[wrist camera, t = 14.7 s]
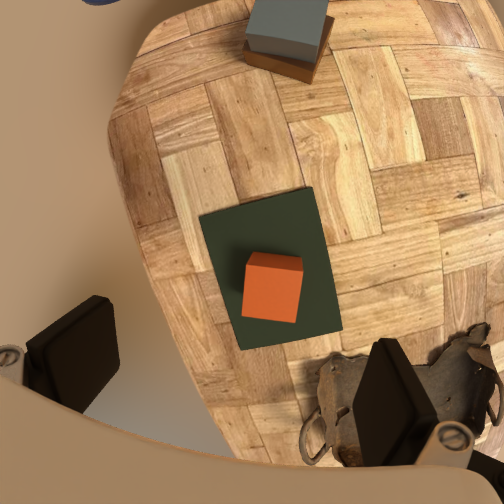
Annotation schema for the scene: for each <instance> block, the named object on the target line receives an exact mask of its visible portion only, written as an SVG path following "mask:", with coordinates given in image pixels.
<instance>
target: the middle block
mask: <svg viewBox="0 0 504 504" xmlns="http://www.w3.org/2000/svg"><path fill="white" fill-rule="evenodd" d="M328 2H329V0H255V3H254V6H253V9H252V12H251V15H250V18H249V21H248V25H247V28H246V31H245V34H246V37H247V40H248V43H249V46H250V49H251V51H254V52H261V53H267V54H272V55H278V56H283V57H288V58H293V59H297V60H302V61H306V62H311V63H315V62H316V57H317V53H318V49H319V44H320V40H321V35H322V31H323V26H324V22H325V17H326V13H327V8H328Z"/></svg>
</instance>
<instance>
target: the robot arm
mask: <svg viewBox="0 0 504 504" xmlns="http://www.w3.org/2000/svg"><path fill="white" fill-rule="evenodd" d="M26 347H27V350H28V351H27V352H26V353H25V354H24V351H23V350H22V348H20V347H19V346H16V345H3V346H0V504H504V463H503V462H500V461H498V460H496V459H494V458H491V457H489V456H487V455H485V454H483V453H481V452H478V451H476V450H474V449H473V448H474V444H475V439H474V435H473V433H472V432H471V430H470V429H469V428H468V427H466V426H465V425H463V424H461V423H459V422H456V421H444V422H441V423H440V422H439V419H438V417H437V415H438V414H437V412H436V410H435V408H434V406H433V404H432V402H431V400H430V398H429V397H428V395H427V393H426V391H425V389H424V387H423V385H422V383H421V382H420V380H419V378H418V376H417V374H416V372H415V371H414V369H413V367H412V365H411V363H410V362H409V360H408V358H407V356H406V355H405V353H404V351H403V349H402V348H401V346H400V344H399V342H398V341H397V339H392V338H380V339H379V340H378V342H374V343H373V345H372V348H371V352H370V355H369V358H368V361H367V364H366V367H365V369H364V372H363V375H362V378H361V381H360V383H359V386H358V389H357V392H356V394H355V397H354V400H353V404H352V409H353V414H354V419H355V424H356V429H357V433H358V438H359V444H360V449H361V454H362V459H363V465H364V467H310V466H294V465H282V464H272V463H263V462H255V461H248V460H241V459H235V458H229V457H224V456H218V455H213V454H208V453H203V452H199V451H194V450H190V449H186V448H182V447H177V446H173V445H170V444H166V443H163V442H159V441H156V440H152V439H149V438H146V437H143V436H140V435H137V434H133V433H130V432H127V431H125V430H121V429H119V428H116V427H113V426H111V425H108V424H105V423H103V422H100V421H98V420H95V419H93V418H90V417H88V416H86V415H83V412H84V411H85V410H86V409H87V407H88V406H89V405H90V404H91V402H92V401H93V400H94V399H95V398H96V396H97V395H98V394H99V393H100V392H101V390H102V389H103V388H104V387H105V386H106V384H107V383H108V382H109V381H110V379H111V378H112V377H113V376H114V375H115V373H116V372H117V371H118V369H119V366H120V359H119V352H118V344H117V336H116V328H115V318H114V308H113V304H112V303H111V302H110V300H109V299H108V298H106V297H102V296H97V295H93V296H92V297H90V298H89V299H87V300H86V301H84V302H83V303H81V304H80V305H78V306H77V307H76V308H74V309H73V310H71V311H70V312H68V313H67V314H65V315H64V316H62V317H61V318H60V319H58V320H57V321H55V322H54V323H53V324H51V325H50V326H48V327H47V328H46V329H44V330H43V331H41V332H40V333H39V334H37V335H36V336H35V337H33V338H32V339H30V340H29V341H28V342H26Z"/></svg>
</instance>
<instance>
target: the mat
mask: <svg viewBox="0 0 504 504" xmlns="http://www.w3.org/2000/svg"><path fill="white" fill-rule="evenodd" d="M199 220H200V224H201V227H202V231H203V234H204V237H205V241H206V244H207V247H208V251H209V254H210V257H211V260H212V264H213V267H214V270H215V273H216V276H217V280H218V283H219V286H220V289H221V292H222V295H223V298H224V301H225V305H226V308H227V311H228V314H229V317H230V320H231V323H232V326H233V329H234V332H235V335H236V338H237V341H238V344H239V347H240V350H241V351H242V350H248V349H254V348H260V347H265V346H271V345H276V344H282V343H287V342H292V341H297V340H301V339H306V338H311V337H316V336H320V335H324V334H329V333H333V332H337V331H342V330H343V327H342V321H341V316H340V310H339V305H338V299H337V294H336V289H335V284H334V279H333V274H332V269H331V264H330V260H329V255H328V250H327V246H326V241H325V237H324V233H323V228H322V224H321V220H320V216H319V212H318V208H317V203H316V199H315V196H314V192H313V188H312V187H310V188H306V189H301V190H297V191H293V192H289V193H286V194H282V195H278V196H274V197H270V198H266V199H262V200H259V201H255V202H251V203H247V204H244V205H240V206H236V207H233V208H229V209H226V210H222V211H218V212H215V213H211V214H208V215H204V216H201V217H199ZM253 252H262V253H270V254H278V255H286V256H294V257H301V258H302V266H303V278H302V284H301V291H300V297H299V303H298V309H297V315H296V321H295V323H292V322H283V321H275V320H268V319H260V318H253V317H246V316H242V315H241V314H242V304H243V293H244V282H245V272H246V264H247V262H248V260H249V258H250V257H251V255H252V253H253Z"/></svg>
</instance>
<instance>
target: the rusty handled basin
mask: <svg viewBox="0 0 504 504" xmlns="http://www.w3.org/2000/svg"><path fill="white" fill-rule="evenodd" d="M490 329H491V327H490V324H489V325H488V324H487V323H485V324H482V325H480V326H476V327H475V328H474V329H472V330H471V331H470V335H469V336H466V337H459V338H457V339H454V340H453V341H452V342H451V343H452V345H451V346H450V347H448V348H447V349H446V350H445V351H444V352H443V353H442V354H441V356H440V357H439V358H438V360H437V361H436V362H435V364H434V365H432V366H431V367H430V366H413V365H412V367H413V369H414V371H415V372H416V374H417V376H418V378H419V380H420V382H421V383H422V385H423V387H424V389H425V391H426V393H427V395H428V397H429V398H430V400H431V402H432V404H433V406H434V408H435V410H436V412H437V414H438V415H437V417H438V419H439V422H440V423H441V422H444V421H456V422H459V423H461V424H463V425H465V426H466V427H468V428H469V429H470V430H471V432H472V433H473V435H474V439H478V438H480V435H481V434H482V432H483V430H484V428H485V418H486V411H487V413H488V415H489V416H490V419H491V422H492V424H493V426H499V424H500V423H501V421H502V418H503V415H504V385H503V383H502V381H501V379H500V377H499V375H498V373H497V370H496V368H495V366H494V363H493V360H492V356H491V351H490V346H489V344H486V345H484V346H481V345H482V344H483V343H484V342H485V341H486V337H487V336H488V334H489V331H490ZM480 346H481V347H480ZM487 347H489V348H487ZM367 361H368V357H365V356H361V357H356V358H354V359H347V358H345V357H344V356H333V357H332V358H331V359H330V360H329V361H328V362H326V363H325V364H324V365H323V366H322V367H321V368H320V369H319V370H318V371H317V372H316V373H315V374H316V375H319V376H320V381H319V383H318V386H317V397H318V401H319V406H318V407H317V408H316V410H315V411H314V412H313V413H312V414H311V415H310V416H309V417H308V419H307V420H306V421H305V422H304V424H303V426H302V428H301V432H300V437H299V449H300V453H301V455H302V459H303V461H304V462H305V463H306V464H307V465H315V464H316V463H317V462H319V460H320V459H321V458H322V457H323V456H324V455H325V453H326V452H327V451H328V450H329V448H330V447H332V454H333V456H334V458H335V459H336V460H337V461H338V462H340V463H342V465H343V466H344V467H364V465H363V459H362V454H361V449H360V444H359V438H358V433H357V429H356V424H355V419H354V414H353V409H352V404H353V400H354V397H355V394H356V392H357V389H358V386H359V383H360V381H361V378H362V375H363V372H364V369H365V367H366V364H367ZM334 367H335V368H336V369H335V370H334V371H333V372H332V370H333V368H334ZM429 367H430V370H429ZM480 368H481V370H479V369H480ZM495 384H497V385H498V388H499V393H500V406H499V412H498V416H497V419H496V416H495V414H494V412H493V410H492V408H491V406H490V403H489V400H490V398H491V396H492V395H493V393H494V390H495ZM449 397H450V398H451V400H450V401H448V402H446V401H447V398H449ZM451 404H452V405H451ZM341 407H349V410H350V412H349V413H347V414H346V415H344V416H343V417H342V418H341V419H339V422H338V424H336V420H337V413H336V411H337V410H338V409H340V408H341ZM448 407H449V409H448ZM321 416H322V417H323V419H324V420H325V423H326V430H325V441H326V442H325V444H324V445H323V447H322V448H321V450H320V451H319V452H318V453H317V454H316V456H315V457H314V458H312V459H311V458H309V456H308V453H307V449H306V436H307V431H308V430H309V428H310V425H311V424H312V423H313V422H314V421H315V420H316V419H317V418H320V417H321ZM335 424H336V425H335Z"/></svg>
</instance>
